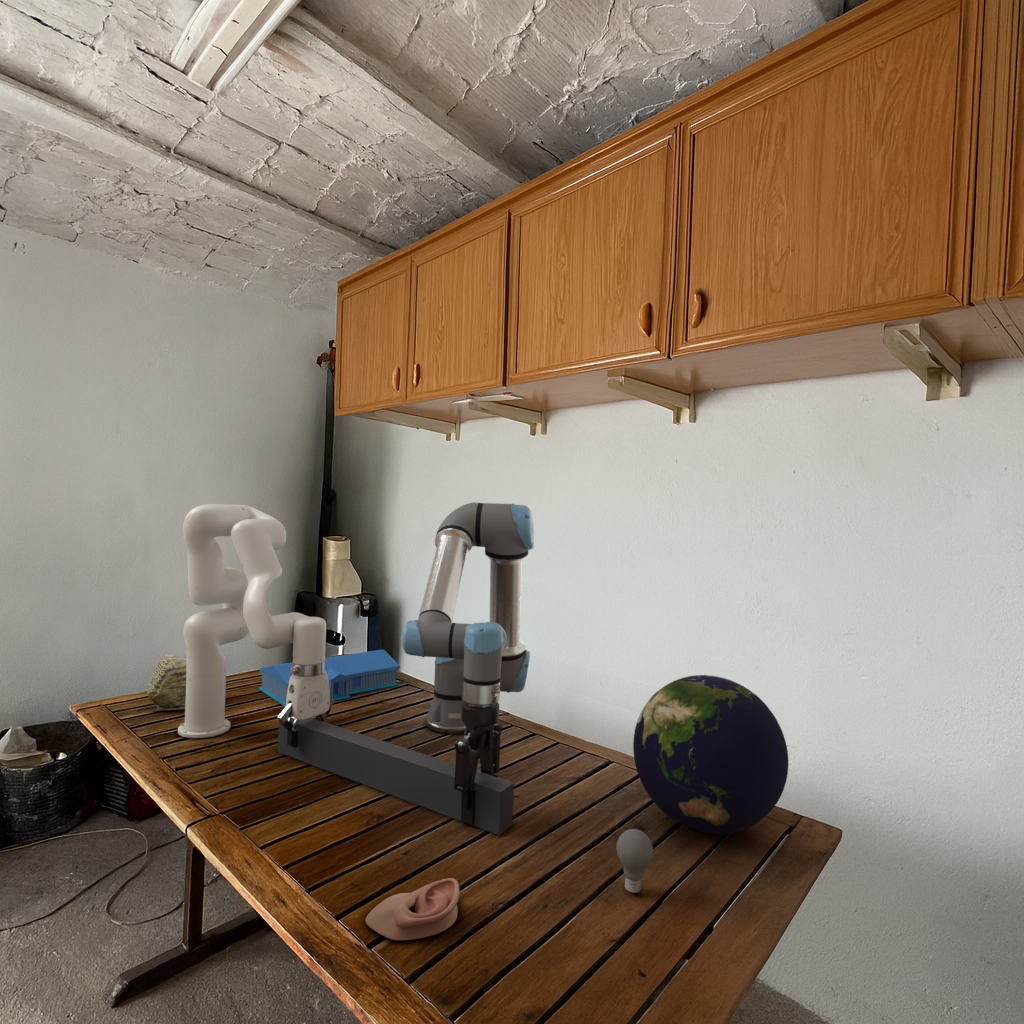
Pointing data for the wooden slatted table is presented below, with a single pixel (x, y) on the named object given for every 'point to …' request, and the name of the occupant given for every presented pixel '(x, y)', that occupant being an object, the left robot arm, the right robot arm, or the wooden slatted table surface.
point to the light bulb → (634, 857)
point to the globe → (710, 754)
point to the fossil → (169, 683)
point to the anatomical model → (417, 911)
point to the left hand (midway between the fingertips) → (305, 740)
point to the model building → (338, 675)
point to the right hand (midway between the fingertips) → (475, 816)
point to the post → (399, 772)
